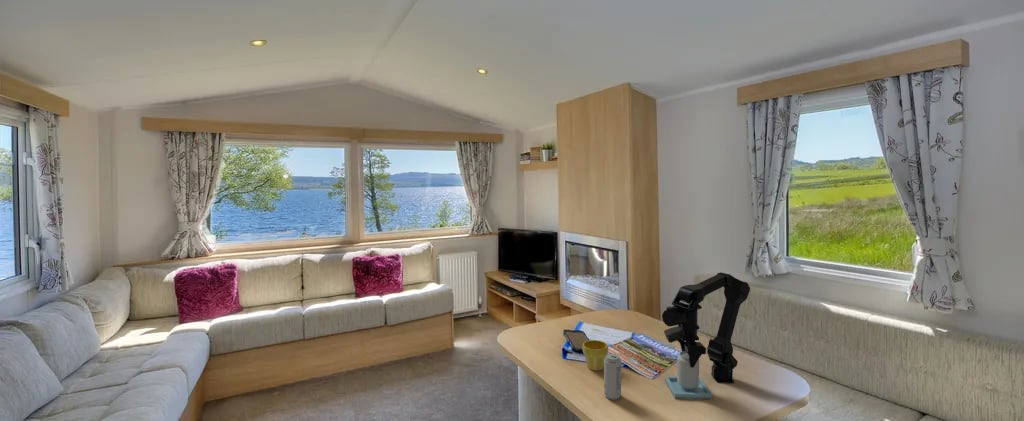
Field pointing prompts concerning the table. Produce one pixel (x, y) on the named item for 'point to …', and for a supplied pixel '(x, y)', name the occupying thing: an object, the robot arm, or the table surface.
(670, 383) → the tray
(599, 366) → the plant pot
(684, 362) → the can
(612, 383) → the energy drink can
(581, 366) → the table surface
